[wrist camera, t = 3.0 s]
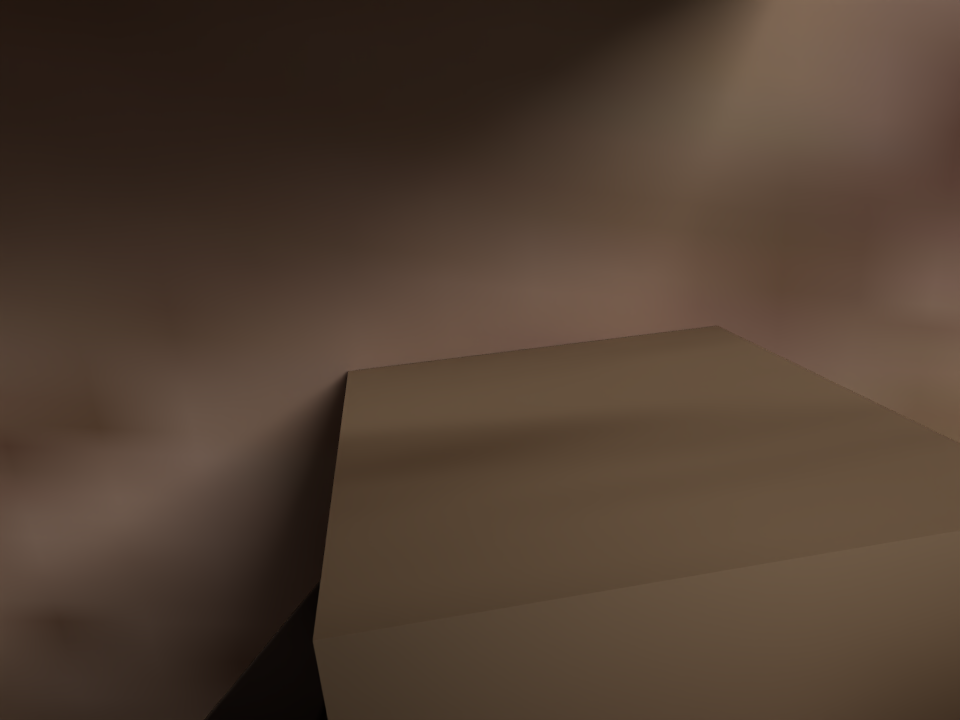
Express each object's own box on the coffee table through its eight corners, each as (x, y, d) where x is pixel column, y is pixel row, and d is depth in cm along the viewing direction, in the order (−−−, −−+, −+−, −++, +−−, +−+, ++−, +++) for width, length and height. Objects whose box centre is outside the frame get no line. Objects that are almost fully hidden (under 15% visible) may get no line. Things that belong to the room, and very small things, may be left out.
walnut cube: (709, 628, 11) (980, 1011, 6) (395, 685, 10) (412, 1162, 5) (717, 325, 9) (1093, 507, 4) (347, 371, 8) (312, 639, 4)
